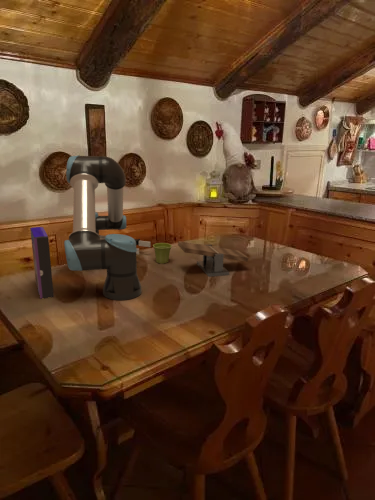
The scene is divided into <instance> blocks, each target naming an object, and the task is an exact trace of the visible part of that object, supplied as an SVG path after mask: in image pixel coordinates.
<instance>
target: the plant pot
mask: <svg viewBox="0 0 375 500" xmlns="http://www.w3.org/2000/svg"><path fill="white" fill-rule="evenodd" d="M152 247H153V250H154V254H155V255H154V257H155V262H156V263H158V264H166V263H169V258H170V252H171V248H172V247H173V246H172V244H170V243H167V242H156V243H154V244H152Z"/></svg>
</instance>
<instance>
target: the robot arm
mask: <svg viewBox="0 0 375 500" xmlns="http://www.w3.org/2000/svg"><path fill="white" fill-rule="evenodd" d="M65 175H66V176H65V177H66V181H67V183H68V184H70V185H69V186H71V188H72V189H73V207H72V208H73V210H72V212H73V214H72V215H73V217H72V218H73V219H72V232H71V233H70V234H69V236H68V239H66V240H64V242H63V245H64V254H65V259H66V263H67V268H68V269H69V270H70V271H79V272H82V271H98V270H99V271H101V270H106V277H105V281H104V284H103V286H102V294H103V296H104V297H105V298H107V299H110V300H114V301H125V300H126V301H127V300H131V299H136V298H137V297H139V296H140V295H141V294H142V285H141V284H142V283H141V282H140V279H139V276H138V272H137V270H138V269H137V268H138V267H137V265H138V264H137V255H140V248H137V246H139V247H144V248H146V247H147V248H151V241H146V240H145V241H144V240H141V239H140V238H138V239H137V238H136V239H135V238H133V237H132V236H129V235H127V234H122V233H121V234H120V233H108V234H107V235H101V234H100V231H105V230H107V231H108V230H109V231H113V230H114V231H117V230H118V231H120V230H126V228H127V216H126V215H125V214H124V187H125V186H126V184H127V183H126V182H127V181H126V180H127V179H126V174H125V171H124V169H123V168H122V166H121V165H120V164H119V163H118V162H117V161H116V160H115V159H114V158H112V157H109V156H105V155H102V156H101V155H100V156H98V155H80V154H79V155H72V156H69V158H68V160H67V162H66V173H65ZM99 184H104V185H105V187H106V192H107V193H106V196H107V215H99V213H98V212H97V211H96V189H97V188H98V186H99Z"/></svg>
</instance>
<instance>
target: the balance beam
mask: <svg viewBox="0 0 375 500" xmlns="http://www.w3.org/2000/svg"><path fill="white" fill-rule="evenodd" d="M206 245H207V244H199V243H194V242H193V243H192V242H188V241H180V240H179V241H178V242H177V246H178V247H179V248H180V250H182V251H183V253H186V254H194V255H201V256H203V255H205V256H212V257H214V254H220V253H223V254H224V257H223V259H227V260H233V261H241V262H248V261H249V256H247V255H246V254H244V253H243V252H241V251H240V250H237V249H230V248H225V247H218V246H213V245H212V246H206Z"/></svg>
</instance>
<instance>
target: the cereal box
mask: <svg viewBox="0 0 375 500" xmlns="http://www.w3.org/2000/svg"><path fill="white" fill-rule="evenodd" d="M29 229H30V230H29V231H30V240H31V249H32V250H31V251H32V257H33V258H32V259H33V267H34V276H35V278H34V279H35V284H36V288H38V289H37V291H38V296H39V295H40V296H39V299H40V300H43V299H42V298H44V299H49V298H48V297H51V298H54V286H53V284H54V283H53V275H52V274H53V273H52V265H51V264H52V262H51V251H50V240H49V239H50V238H49V236H48V234H47V232H46V230H45V229H44V227H43V226H36V227H30V228H29Z"/></svg>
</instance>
